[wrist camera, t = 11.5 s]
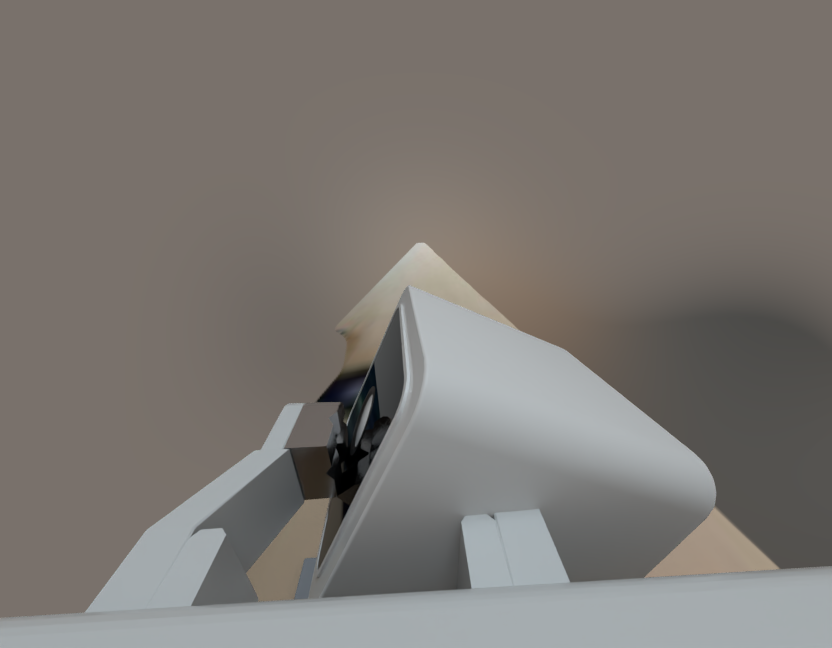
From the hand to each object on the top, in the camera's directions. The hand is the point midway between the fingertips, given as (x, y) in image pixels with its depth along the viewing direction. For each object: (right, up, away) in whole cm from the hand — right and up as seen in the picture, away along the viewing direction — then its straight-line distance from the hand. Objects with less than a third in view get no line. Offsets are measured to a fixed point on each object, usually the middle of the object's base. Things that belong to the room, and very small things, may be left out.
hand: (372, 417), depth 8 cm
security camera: (0, -7, +2) cm, 7 cm away
